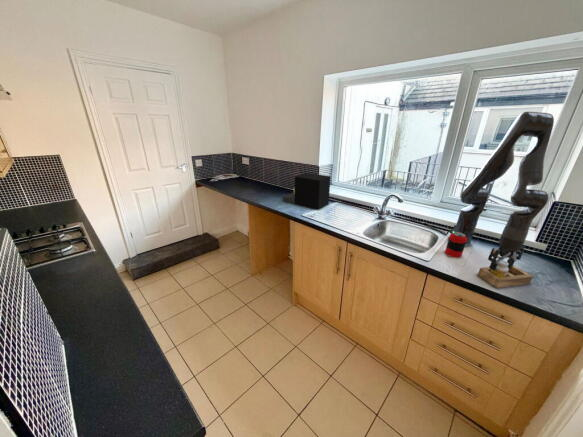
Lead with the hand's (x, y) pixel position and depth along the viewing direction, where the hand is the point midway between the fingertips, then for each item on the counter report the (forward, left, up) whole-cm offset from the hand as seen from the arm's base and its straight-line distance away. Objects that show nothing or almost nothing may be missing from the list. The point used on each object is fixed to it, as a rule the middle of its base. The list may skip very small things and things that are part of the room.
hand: (500, 268), depth 108 cm
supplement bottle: (0, 0, -6) cm, 6 cm away
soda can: (-23, -2, -6) cm, 24 cm away
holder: (0, +4, -6) cm, 7 cm away
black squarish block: (-118, -61, -6) cm, 133 cm away
